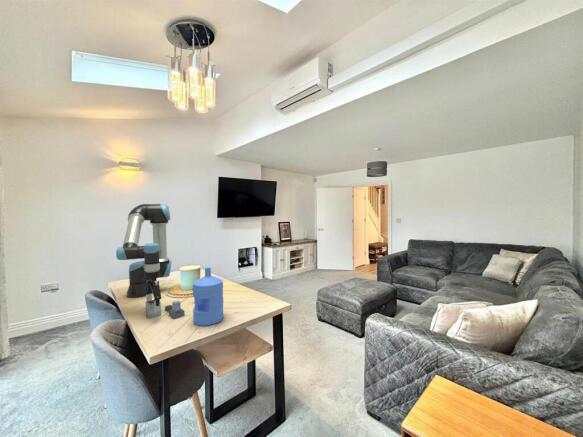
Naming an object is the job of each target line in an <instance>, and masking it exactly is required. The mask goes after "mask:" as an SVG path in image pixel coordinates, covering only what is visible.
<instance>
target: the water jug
mask: <svg viewBox="0 0 583 437" xmlns="http://www.w3.org/2000/svg"><path fill="white" fill-rule="evenodd" d="M211 270H212V268H211V267H206V268H204V276H202V277H201V278H199V279H196V280H195V281H194V282H193V283H192V296H193V299H194V298H195V303H194V307H193V308H192V312H193V318H192V321H193V323H194V324H195V325H198V326H203V327H206V326H212V325H215V324H218V323H219V322H221V321H223V319H224V316H225V315H224V280H223V279H222V278H219V277H216V276H214V275H212V271H211ZM198 299H199V301H198Z"/></svg>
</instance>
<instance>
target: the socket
mask: <svg viewBox="0 0 583 437" xmlns="http://www.w3.org/2000/svg"><path fill="white" fill-rule="evenodd" d="M153 300H154V299H152V300H151V301H147V302H146V301H145V306H144V307H145V316H146V318H147V319H148V320H151V319H153V318H156V317H160V316H162V313H161V312H162V306H161V304H162V303H161V301H160V311H158V312H154V301H153Z"/></svg>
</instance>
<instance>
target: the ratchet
mask: <svg viewBox="0 0 583 437" xmlns="http://www.w3.org/2000/svg"><path fill="white" fill-rule="evenodd" d="M181 306H182V305H181V301H180V300H175V301H172V304H169V305H165V306H164V311H166V312H167V313H168V317H170V318H171V319H172V320H176V319H179V318H183V317H185V315H186V314H185V310H184V309H183V308H181Z"/></svg>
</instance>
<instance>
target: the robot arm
mask: <svg viewBox="0 0 583 437" xmlns="http://www.w3.org/2000/svg"><path fill="white" fill-rule="evenodd" d="M127 221H128V223H127V228H126V231H125V235H124V239H123V243H122V246H118V247H117V248H116V252H115V254H116V256H115V257H116V259H117V260H118V261H128V260H139V259H140V261H136V262H135V261H134V262H133V263H131V264H129V266H128V276H129V277H128V278H129V281H128V282H129V285H128V289H127V291H126V298H129V299H130V298H131V299H134V298H135V299H136V298H142V297H146V299H145V300H146V301H145V302H147V301H151V300H153V301H154V312H158V311H160V302H161V300H162V294H161V287H160V281H159V280H157V279H159V278H160V279H161V278H163V279H164V278H167V277H169V276H170V274H171V269H172V261H171V260H170V258H169V257H168V251H167V248H168V246H167V244H168V243H167V224H169V221H171V213H170V207H169V206H168V204H166V203H164V204H163V203H142V204H141V203H140V204H139V205H136V206H135V207H133V208H132V209H131V210H130V211H129V213H128V216H127ZM145 221H149V224H150V225H152V243H151V242H150V243H145V244H144V245H139V243H140V236H141V231H142V226H143V223H144V222H145ZM142 259H143V260H142Z"/></svg>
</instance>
